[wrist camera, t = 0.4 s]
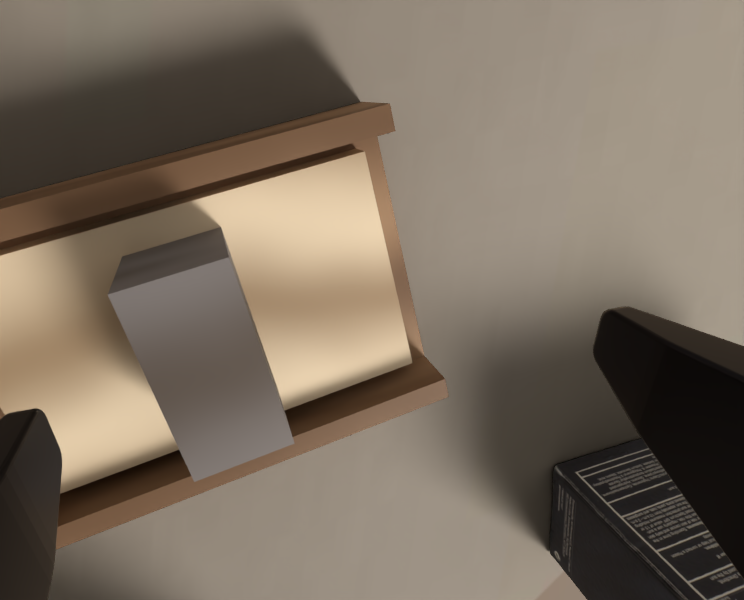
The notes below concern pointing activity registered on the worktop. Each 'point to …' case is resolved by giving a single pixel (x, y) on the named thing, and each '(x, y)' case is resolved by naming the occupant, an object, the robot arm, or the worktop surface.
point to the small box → (634, 532)
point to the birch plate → (283, 277)
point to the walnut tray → (196, 175)
